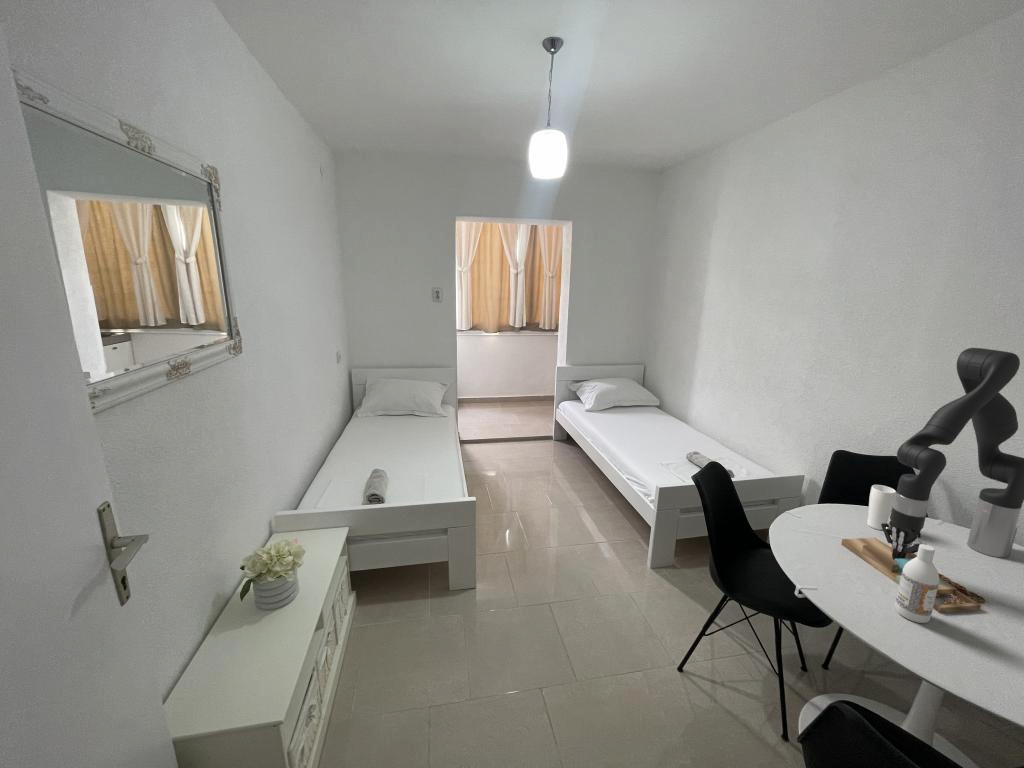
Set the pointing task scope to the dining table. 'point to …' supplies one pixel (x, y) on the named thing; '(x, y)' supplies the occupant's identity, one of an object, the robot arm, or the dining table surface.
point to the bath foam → (918, 586)
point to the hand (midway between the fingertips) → (897, 560)
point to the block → (902, 563)
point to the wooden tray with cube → (882, 561)
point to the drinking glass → (880, 505)
